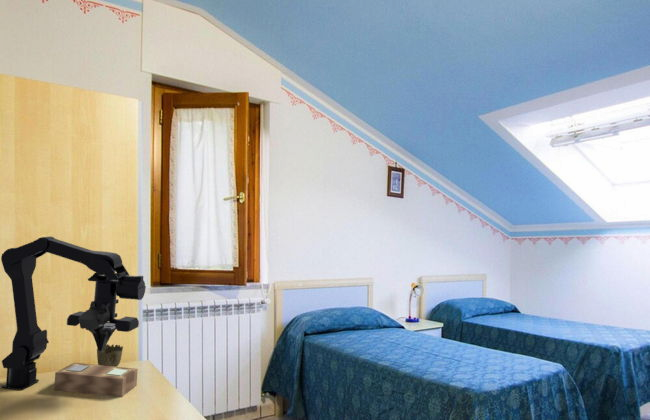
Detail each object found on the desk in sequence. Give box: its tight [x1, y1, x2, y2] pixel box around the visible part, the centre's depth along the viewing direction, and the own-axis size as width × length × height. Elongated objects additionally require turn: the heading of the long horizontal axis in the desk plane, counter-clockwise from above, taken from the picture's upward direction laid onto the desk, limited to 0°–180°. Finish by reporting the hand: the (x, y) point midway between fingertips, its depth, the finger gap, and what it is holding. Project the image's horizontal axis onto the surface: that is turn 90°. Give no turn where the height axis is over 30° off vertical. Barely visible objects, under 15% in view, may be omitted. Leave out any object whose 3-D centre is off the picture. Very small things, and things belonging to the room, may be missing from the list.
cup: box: [96, 344, 124, 367], centre depth 138 cm, size 8×7×8 cm
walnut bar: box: [53, 362, 139, 398], centre depth 126 cm, size 20×8×5 cm, turn 85°
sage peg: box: [107, 369, 128, 376], centre depth 126 cm, size 4×4×5 cm
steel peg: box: [67, 365, 89, 372], centre depth 127 cm, size 4×4×5 cm
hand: (100, 351), depth 126 cm, fingers closed
